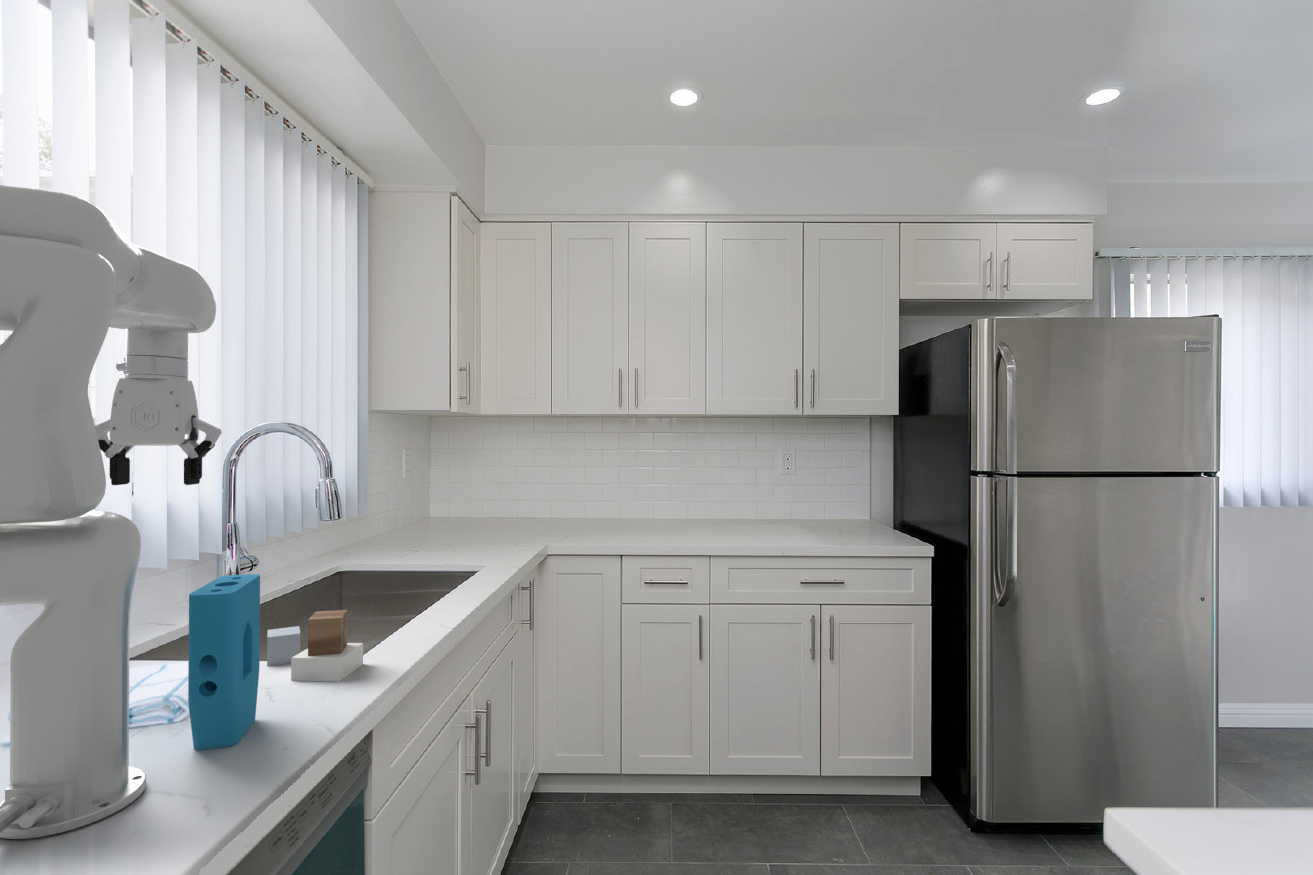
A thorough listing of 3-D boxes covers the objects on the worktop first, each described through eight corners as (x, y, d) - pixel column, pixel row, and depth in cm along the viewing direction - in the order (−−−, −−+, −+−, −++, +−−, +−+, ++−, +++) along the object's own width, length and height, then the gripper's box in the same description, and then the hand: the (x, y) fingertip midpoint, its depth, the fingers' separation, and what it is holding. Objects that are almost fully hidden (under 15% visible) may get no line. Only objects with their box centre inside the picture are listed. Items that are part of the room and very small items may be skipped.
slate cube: (300, 661, 115) (300, 633, 115) (267, 666, 113) (267, 637, 113) (299, 653, 120) (299, 625, 120) (267, 657, 117) (267, 629, 117)
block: (231, 752, 82) (232, 593, 82) (185, 757, 81) (186, 595, 81) (260, 713, 94) (261, 573, 94) (221, 716, 92) (222, 575, 92)
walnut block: (341, 653, 109) (341, 617, 109) (307, 656, 107) (308, 619, 107) (347, 644, 113) (347, 609, 113) (315, 646, 112) (315, 611, 112)
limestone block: (339, 683, 106) (339, 658, 106) (291, 682, 106) (291, 657, 106) (363, 666, 114) (363, 643, 114) (317, 665, 114) (318, 642, 114)
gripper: (74, 366, 93) (73, 486, 93) (207, 369, 96) (206, 486, 96) (109, 371, 101) (108, 482, 101) (231, 374, 104) (231, 482, 104)
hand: (156, 484), depth 99 cm, fingers open, 9 cm apart
